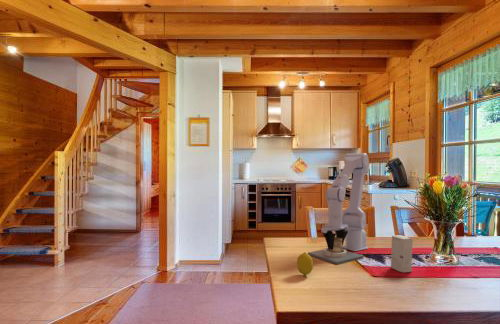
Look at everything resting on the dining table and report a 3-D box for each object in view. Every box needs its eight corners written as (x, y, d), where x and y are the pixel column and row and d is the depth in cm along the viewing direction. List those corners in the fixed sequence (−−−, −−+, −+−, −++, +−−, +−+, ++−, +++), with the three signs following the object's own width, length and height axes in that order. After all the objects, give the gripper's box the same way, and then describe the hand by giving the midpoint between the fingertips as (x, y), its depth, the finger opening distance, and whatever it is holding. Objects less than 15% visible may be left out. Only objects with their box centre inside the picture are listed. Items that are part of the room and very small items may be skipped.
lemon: (303, 279, 105) (303, 255, 105) (293, 274, 110) (293, 251, 110) (316, 276, 108) (316, 253, 108) (306, 272, 113) (306, 249, 113)
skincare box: (390, 267, 118) (390, 235, 118) (400, 266, 119) (400, 234, 119) (402, 273, 112) (402, 238, 112) (413, 272, 113) (413, 238, 113)
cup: (335, 250, 136) (334, 236, 136) (345, 252, 131) (345, 238, 132) (327, 253, 132) (326, 238, 133) (337, 255, 128) (336, 240, 128)
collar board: (333, 249, 143) (333, 243, 144) (363, 258, 130) (363, 252, 130) (307, 254, 135) (307, 249, 135) (337, 264, 121) (337, 258, 121)
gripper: (330, 218, 125) (330, 252, 125) (354, 215, 133) (354, 247, 133) (317, 216, 131) (317, 248, 131) (340, 213, 139) (340, 244, 139)
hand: (335, 248), depth 132 cm, fingers closed on cup, 5 cm apart
